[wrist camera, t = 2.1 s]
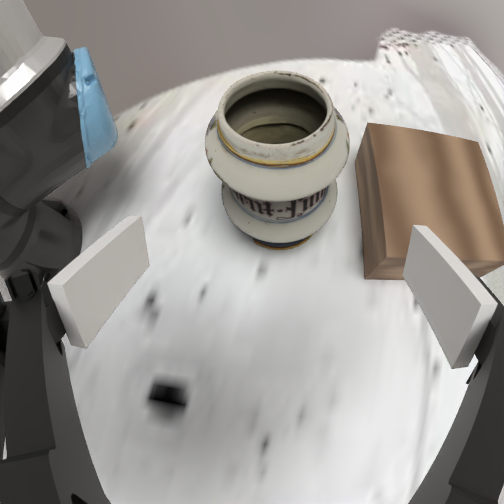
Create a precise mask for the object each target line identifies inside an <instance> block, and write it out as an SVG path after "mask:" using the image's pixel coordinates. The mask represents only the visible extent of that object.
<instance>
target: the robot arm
mask: <svg viewBox="0 0 504 504" xmlns="http://www.w3.org/2000/svg"><path fill="white" fill-rule="evenodd" d="M117 137H118V133H117V128H116V125H115V122H114V119H113V117H112V114H111V111H110V108H109V105H108V103H107V100H106V97H105V94H104V92H103V89H102V86H101V83H100V80H99V77H98V75H97V72H96V69H95V66H94V63H93V61H92V58H91V56H90V53H89V50H88V49H87V48H86V47H82V48H77V49H75V50H74V52H71V51H70V49H69V47H68V45H67V44H66V42H65V40H64V39H63V38H56V37H45V36H44V35H42V34H41V32H40V31H39V29H38V27H37V26H36V24H35V22H34V20H33V18H32V17H31V15H30V13H29V11H28V9H27V7H26V5H25V4H24V2H23V0H0V276H1V277H2V278H3V279H4V280H5V283H6V285H7V288H8V291H9V293H10V296H11V298H12V301H9V302H4V300H3V298H2V295H1V293H0V504H111V503H110V501H109V500H108V499H107V497H106V495H105V494H104V491H103V489H102V487H101V484H100V482H99V479H98V476H97V474H96V471H95V468H94V465H93V462H92V460H91V457H90V454H89V450H88V447H87V444H86V441H85V438H84V434H83V431H82V427H81V424H80V420H79V416H78V412H77V408H76V404H75V400H74V395H73V391H72V386H71V381H70V376H69V371H68V366H67V360H66V354H65V347H64V344H63V342H62V340H61V338H62V337H63V336H64V335H65V333H66V334H67V336H68V339H69V341H70V343H71V345H73V346H77V347H81V348H87V347H88V346H89V344H90V343H91V341H92V340H93V339H94V337H95V336H96V334H97V333H98V332H99V330H100V329H101V328H102V326H103V325H104V324H105V322H106V321H107V319H108V318H109V317H110V315H111V314H112V313H113V311H114V310H115V309H116V307H117V306H118V305H119V304H120V302H121V301H122V300H123V298H124V297H125V296H126V294H127V293H128V292H129V291H130V289H131V288H132V287H133V285H134V284H135V283H136V282H137V280H138V279H139V278H140V277H141V275H142V274H143V273H144V272H145V270H146V269H147V268H148V267H149V265H150V264H149V259H148V253H147V246H146V240H145V234H144V227H143V220H142V216H128V217H126V218H125V219H124V220H122V221H121V222H120V223H118V224H117V225H116V226H115V227H113V228H112V229H111V230H110V231H108V232H107V233H106V234H104V235H103V236H102V237H101V238H99V239H98V240H97V241H96V242H95V243H93V244H92V245H91V246H90V247H88V248H87V249H86V250H85V251H84V252H82V253H81V254H80V249H81V242H82V230H81V224H80V221H79V218H78V216H77V214H76V213H75V212H74V211H73V210H72V209H71V208H70V207H69V206H68V205H67V204H65V203H64V202H63V201H61V200H59V199H56V198H52V197H48V196H47V195H48V194H49V193H51V192H52V191H53V190H55V189H56V188H57V187H59V186H60V185H61V184H63V183H64V182H66V181H67V180H68V179H70V178H71V177H73V176H74V175H75V174H77V173H78V172H80V171H81V170H83V169H84V168H87V169H88V168H89V167H90V166H91V164H92V163H93V162H94V161H96V160H97V159H99V158H100V157H101V156H103V155H104V154H106V153H107V152H109V151H110V150H111V149H112V148H113V147H114V145H115V144H116V141H117ZM79 254H80V255H79ZM402 276H403V277H404V279H405V281H406V282H407V284H408V286H409V288H410V289H411V291H412V293H413V295H414V296H415V298H416V300H417V302H418V304H419V305H420V307H421V309H422V311H423V313H424V315H425V316H426V318H427V320H428V322H429V324H430V326H431V328H432V330H433V332H434V334H435V336H436V338H437V340H438V342H439V344H440V346H441V348H442V350H443V352H444V354H445V356H446V358H447V360H448V362H449V364H450V367H451V369H455V368H462V367H468V365H469V363H470V362H471V360H472V358H473V356H474V354H475V355H476V357H477V359H478V363H477V365H476V367H475V368H474V370H473V372H472V374H471V375H470V377H469V379H468V380H467V382H466V384H469V385H468V388H467V391H466V393H465V396H464V398H463V401H462V403H461V406H460V408H459V411H458V413H457V415H456V418H455V420H454V422H453V424H452V427H451V429H450V431H449V433H448V435H447V437H446V439H445V441H444V443H443V445H442V447H441V449H440V451H439V453H438V455H437V457H436V459H435V461H434V462H433V464H432V466H431V468H430V469H429V471H428V473H427V475H426V476H425V478H424V480H423V481H422V483H421V485H420V486H419V488H418V490H417V491H416V493H415V494H414V496H413V497H412V499H411V500H410V502H409V503H408V504H498V499H499V495H500V493H501V490H502V487H503V485H504V306H503V305H502V303H501V302H500V301H499V300H498V298H497V297H496V296H495V295H494V294H493V293H492V291H491V290H490V289H489V288H488V287H487V286H486V284H485V283H484V282H483V281H482V280H481V279H480V278H479V277H477V276H476V275H474V274H473V273H471V272H470V270H469V269H468V268H467V267H466V266H465V265H464V264H463V263H462V262H461V261H460V260H459V258H458V257H457V256H456V255H455V254H454V253H453V252H452V251H451V250H450V249H449V248H448V247H447V246H446V245H445V244H444V243H443V242H442V241H441V240H440V239H439V238H438V237H437V236H436V235H435V234H434V233H433V232H432V231H431V230H430V229H429V228H428V227H427V226H422V225H413V228H412V233H411V238H410V243H409V248H408V253H407V258H406V262H405V267H404V271H403V275H402ZM469 382H470V383H469ZM5 437H6V449H7V458H6V459H4V460H2V459H3V450H4V442H5Z"/></svg>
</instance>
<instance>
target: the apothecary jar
mask: <svg viewBox="0 0 504 504" xmlns="http://www.w3.org/2000/svg"><path fill="white" fill-rule="evenodd" d="M349 144H350V141H349V134H348V130H347V127H346V124H345V122H344V120H343V118H342V116H341V115H340V113H339V112H338V111H337V110H336V108H335V107H334V106H333V103H332V100H331V98H330V96H329V94H328V93H327V91H326V90H325V89H324V88H323V87H322V86H321V85H320V84H319V83H317V82H316V81H314V80H313V79H311V78H309V77H307V76H304V75H301V74H298V73H294V72H289V71H267V72H261V73H256V74H253V75H250V76H247V77H245V78H243V79H241V80H239V81H237V82H236V83H234V84H233V85H232V86H231V87H230V88H229V89H228V90H227V91H226V92H225V93H224V95H223V96H222V98H221V100H220V103H219V107H218V110H217V111H216V113H215V114H214V116H213V117H212V119H211V121H210V123H209V125H208V128H207V131H206V136H205V150H206V155H207V158H208V161H209V164H210V166H211V167H212V169H213V171H214V172H215V174H216V175H217V176H218V177H219V178H220V180H221V181H223V182H222V199H223V204H224V207H225V210H226V212H227V214H228V216H229V217H230V219H231V220H232V221H233V223H234V224H235V225H236V226H237V227H238V228H239V229H241V230H242V231H243V232H245V233H246V234H248V235H250V236H252V237H253V240H254V242H255V243H256V244H258V245H260V246H262V247H265V248H268V249H272V250H285V249H291V248H294V247H297V246H299V245H301V244H303V243H304V242H306V241H307V240H308V239H309V238H310V237H311V236H312V235H313V233H315V232H316V231H317V230H319V229H320V228H321V227H322V226H323V225H324V224H325V223H326V222H327V220H328V219H329V217H330V216H331V214H332V212H333V210H334V207H335V204H336V200H337V183H336V178H337V177H338V175H339V174H340V173H341V171H342V169H343V168H344V166H345V164H346V161H347V158H348V154H349Z"/></svg>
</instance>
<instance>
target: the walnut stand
mask: <svg viewBox="0 0 504 504" xmlns="http://www.w3.org/2000/svg"><path fill="white" fill-rule="evenodd" d="M355 168H356V176H357V184H358V193H359V203H360V214H361V226H362V240H363V256H364V279H379V280H405V279H404V277H403V276H402V275H403V271H404V267H405V262H406V258H407V253H408V248H409V243H410V238H411V233H412V228H413V225H422V226H427V227H428V228H429V229H430V230H431V231H432V232H433V233H434V234H435V235H436V236H437V237H438V238H439V239H440V240H441V241H442V242H443V243H444V244H445V245H446V246H447V247H448V248H449V249H450V250H451V251H452V252H453V253H454V254H455V255H456V256H457V257H458V258H459V260H460V261H461V262H462V263H463V264H464V265H465V266H466V267H467V268H468V269H469V270H470V272H471V273H473V274H474V275H476V276H477V277H479V278H480V277H482V276H484V275H486V274H487V273H489V272H491V271H493V270H495V269H497V268H499V267H501V266H502V265H504V225H503V221H502V217H501V213H500V209H499V205H498V201H497V198H496V194H495V191H494V187H493V184H492V181H491V178H490V174H489V171H488V168H487V165H486V163H485V160H484V157H483V154H482V151H481V149H480V146H479V144H478V142H476V141H471V140H467V139H463V138H458V137H454V136H449V135H444V134H439V133H434V132H428V131H423V130H417V129H411V128H404V127H398V126H391V125H383V124H375V123H367V126H366V129H365V132H364V135H363V139H362V142H361V145H360V148H359V151H358V154H357V157H356V160H355Z"/></svg>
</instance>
